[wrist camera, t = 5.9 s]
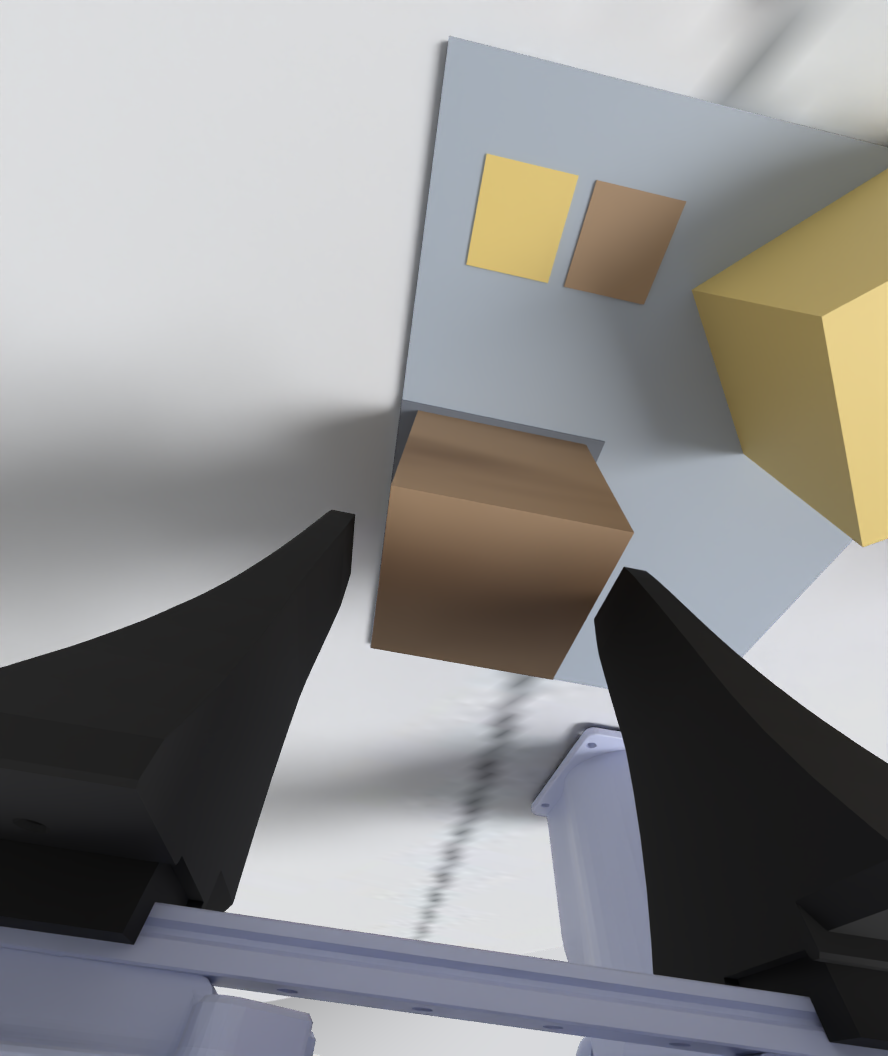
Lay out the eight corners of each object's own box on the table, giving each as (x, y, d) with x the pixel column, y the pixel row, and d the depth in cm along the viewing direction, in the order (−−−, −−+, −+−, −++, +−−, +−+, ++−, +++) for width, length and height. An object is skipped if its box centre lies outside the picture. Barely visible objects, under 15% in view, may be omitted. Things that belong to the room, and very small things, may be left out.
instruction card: (695, 700, 19) (697, 705, 19) (371, 643, 18) (370, 648, 18) (1145, 216, 9) (1162, 215, 8) (449, 39, 8) (448, 34, 8)
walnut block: (533, 571, 15) (552, 679, 11) (397, 546, 15) (370, 647, 11) (585, 444, 12) (634, 532, 8) (418, 410, 12) (391, 485, 8)
